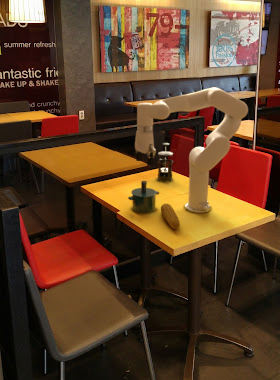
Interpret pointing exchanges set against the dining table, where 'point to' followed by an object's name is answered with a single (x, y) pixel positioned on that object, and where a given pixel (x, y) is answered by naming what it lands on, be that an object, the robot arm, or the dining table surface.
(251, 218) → the dining table surface
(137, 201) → the pot
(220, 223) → the dining table surface
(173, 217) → the food
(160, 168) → the french press
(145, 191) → the lid
